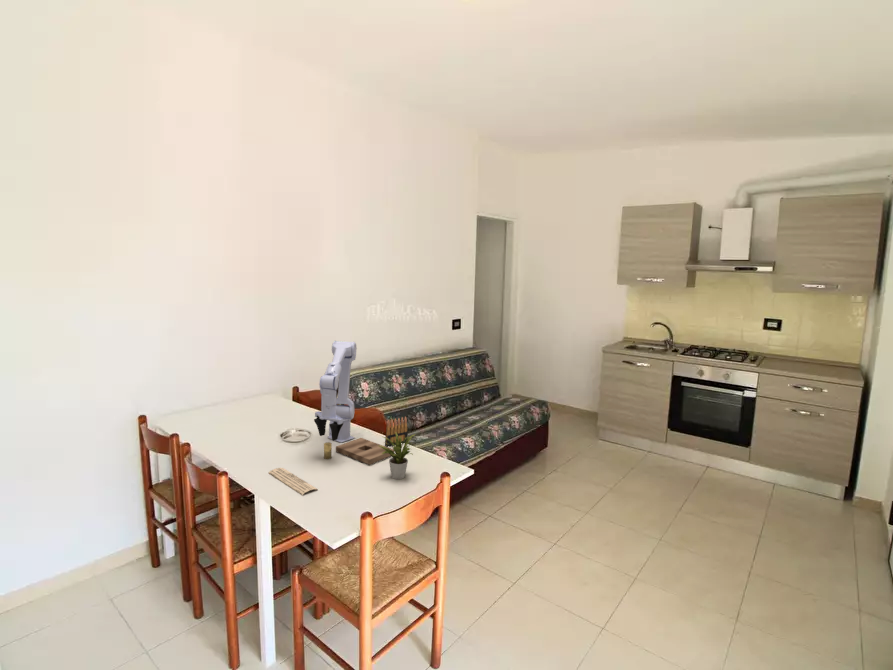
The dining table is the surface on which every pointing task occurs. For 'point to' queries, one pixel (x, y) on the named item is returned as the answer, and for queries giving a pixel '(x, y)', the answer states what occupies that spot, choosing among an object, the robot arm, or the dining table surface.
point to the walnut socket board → (363, 451)
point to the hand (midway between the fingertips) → (328, 437)
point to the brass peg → (327, 450)
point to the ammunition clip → (396, 431)
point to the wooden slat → (291, 480)
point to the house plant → (398, 457)
